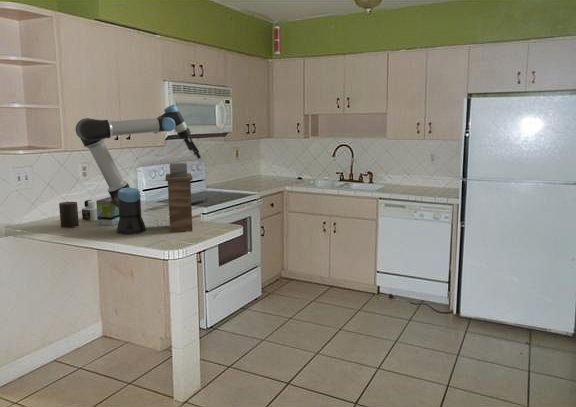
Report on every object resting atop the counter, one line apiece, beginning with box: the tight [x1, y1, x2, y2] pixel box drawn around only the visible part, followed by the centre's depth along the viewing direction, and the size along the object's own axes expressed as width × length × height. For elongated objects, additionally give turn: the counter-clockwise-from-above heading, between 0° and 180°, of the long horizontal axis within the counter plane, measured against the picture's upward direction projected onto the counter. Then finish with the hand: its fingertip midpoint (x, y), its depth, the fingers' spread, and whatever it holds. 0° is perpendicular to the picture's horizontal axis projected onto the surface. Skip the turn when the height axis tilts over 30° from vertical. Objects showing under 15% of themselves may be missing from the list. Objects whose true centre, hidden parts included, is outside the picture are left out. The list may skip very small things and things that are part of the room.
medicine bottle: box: [81, 199, 97, 222], centre depth 302 cm, size 7×7×12 cm
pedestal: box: [165, 172, 193, 233], centre depth 277 cm, size 19×14×30 cm
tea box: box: [95, 196, 119, 227], centre depth 294 cm, size 15×10×15 cm, turn 168°
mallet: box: [169, 162, 188, 177], centre depth 281 cm, size 25×9×7 cm, turn 13°
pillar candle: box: [58, 201, 80, 229], centre depth 286 cm, size 10×10×15 cm
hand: (199, 160), depth 302 cm, fingers open, 13 cm apart
